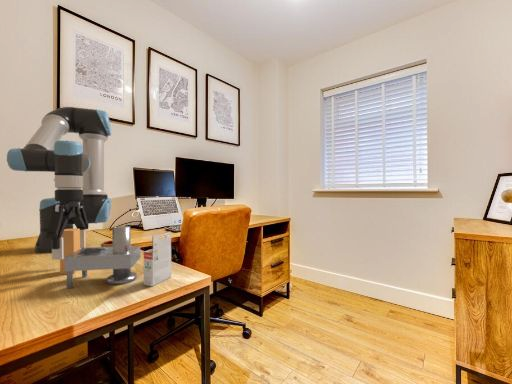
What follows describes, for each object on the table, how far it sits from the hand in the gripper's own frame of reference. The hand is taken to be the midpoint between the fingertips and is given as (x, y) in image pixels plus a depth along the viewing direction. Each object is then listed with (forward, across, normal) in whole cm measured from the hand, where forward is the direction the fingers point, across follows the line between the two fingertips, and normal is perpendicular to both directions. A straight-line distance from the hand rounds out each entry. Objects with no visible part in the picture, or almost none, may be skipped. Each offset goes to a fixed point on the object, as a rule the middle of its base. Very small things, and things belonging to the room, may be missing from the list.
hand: (70, 253), depth 83 cm
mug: (+6, -16, +6) cm, 18 cm away
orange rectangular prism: (+6, 0, 0) cm, 6 cm away
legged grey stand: (+6, +10, +15) cm, 19 cm away
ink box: (+7, +13, +30) cm, 33 cm away
